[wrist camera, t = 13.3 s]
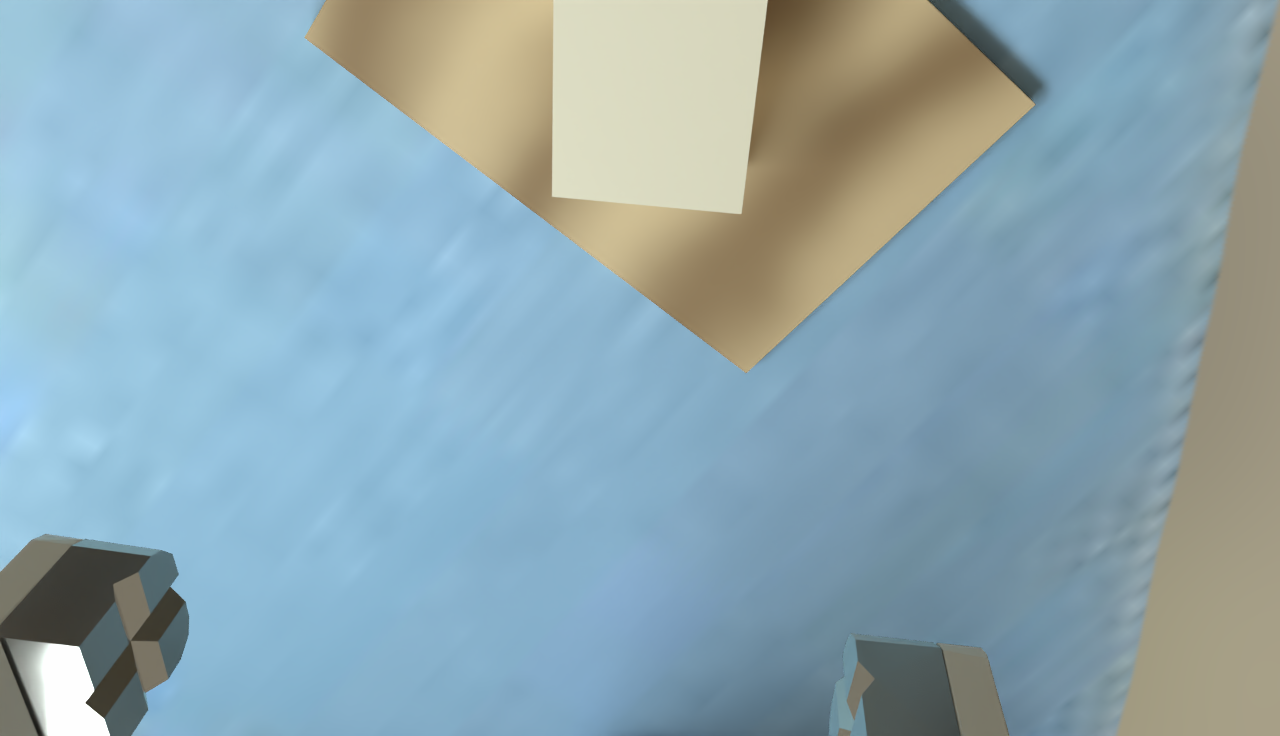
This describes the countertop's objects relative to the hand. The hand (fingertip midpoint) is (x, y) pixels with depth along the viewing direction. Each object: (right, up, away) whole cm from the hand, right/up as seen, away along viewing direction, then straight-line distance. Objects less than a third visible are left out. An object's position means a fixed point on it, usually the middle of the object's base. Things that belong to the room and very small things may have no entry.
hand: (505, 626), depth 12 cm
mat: (+2, +13, +21) cm, 25 cm away
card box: (+2, +9, +20) cm, 22 cm away
